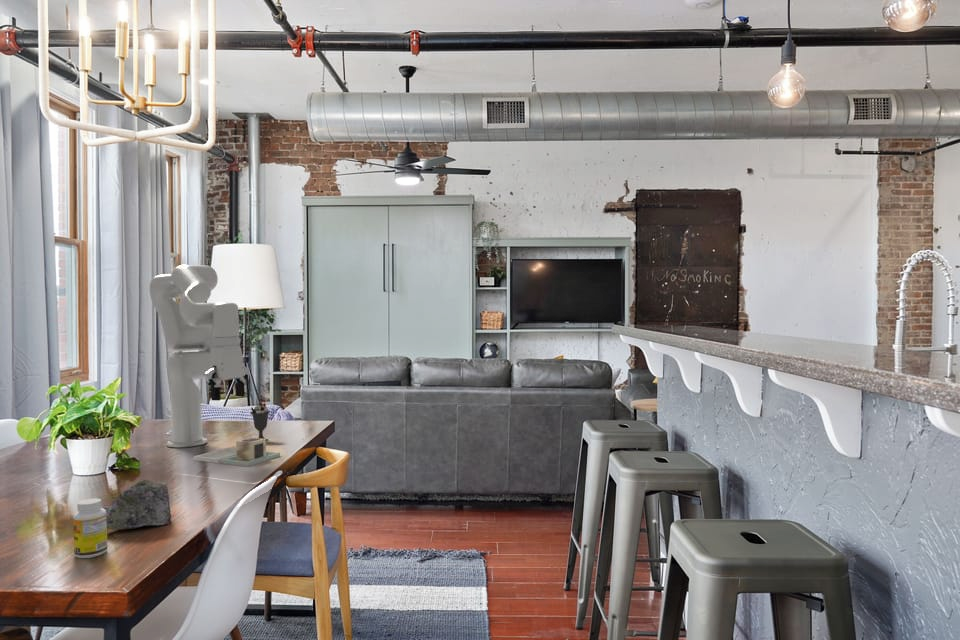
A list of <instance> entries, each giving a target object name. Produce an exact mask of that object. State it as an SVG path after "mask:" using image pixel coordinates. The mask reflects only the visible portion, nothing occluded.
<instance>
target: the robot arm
mask: <svg viewBox="0 0 960 640" xmlns="http://www.w3.org/2000/svg"><path fill="white" fill-rule="evenodd" d="M218 279H219V277H218V273H217V271H216V270H215V268H213V267H212V266H210V265H204V264H202V265H201V264H200V265H199V264H181V265H178V266H176V267H174V268H173V269H172V271H171V273H168V274H167V273H166V274H165V273H164V274H158V275H156V276H154V277H152V278H151V280H150V283H149V296H150V300H151V302H152V304H153V307H154V308H155V310H156V312H157V314H158V316H159V319H160V324H161V327H162V332H163V336H164V340H165V344H166V346H167V348H168V349H169V350H170V351H172V352H176V353H173V354H171V355H170V356H169V357H168V358H167V360H166V371H167V376H168V381H169V389H170V415H171V416H170V419H171V420H170V421H171V423H170V424H171V430H169V431H168V432H166V433H165V437H167V438H169V440H168V441H166V445H167V447H169V448H191V447H198V446H202V445H205V444H206V443H207V441H208V439H207V438H206V437H203V429H202V427H203V426H202V424H203V423H202V392H201V390H200V388H199V386H198V385H197V384H196V383H195V382H194V381H195V380H199V379H205V382H206V383H207V385H208V387H209V388H210V398H211V401H215V402H217V401H221V396H222V395H221V386H220V384H221V383H222V381H228V380H234V381H235V382H236V383H235V384H234V385H235V387H234V389H235V397H245V395H246V393H245V384H246V383H247V380H248V378H249V374H250V370H251V369H250V368H249V367H247V366H246V365H244V357H243V351H242V347H241V346H240V343H241V342H242V341H241V338H240V320H239V319H240V317H239V306H238V304H237V303H234V302H207V301H208V300H209V299H210V297H211V295H212V294H211V292H212V291H213V290H214V289H215V288H216V286H217V284H218ZM174 299H179V303H178V302H177V301H175V300H174ZM219 386H220V387H219Z"/></svg>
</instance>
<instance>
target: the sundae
mask: <svg viewBox="0 0 960 640" xmlns="http://www.w3.org/2000/svg"><path fill="white" fill-rule="evenodd" d="M265 399H267V397H263V399H262V401H259V402H258V403H257V404H256V405H255V406H254V408H253V407H252V406H251V408H250V409H251V410H250V415H252V419H253V426H254V428H255V429H256V430H257V432H258V437H257V438H261V439H266V442H268V441H269V439H268V438H265V437H264V434H263V433H264V430H266V428H267V426H268V419H269V414H270V413H271V411H270V410H269V408H268V407H267V404H266V402H265Z"/></svg>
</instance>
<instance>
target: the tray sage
mask: <svg viewBox="0 0 960 640" xmlns="http://www.w3.org/2000/svg"><path fill="white" fill-rule="evenodd" d="M279 457H281V452H278V451H277V452H276V451H267V450H266V456H264V457H261V458H258V459H254V460H251V461H248V462H245V461H237V455H236V456H233V457H229V458H226V459H222V460H221V461H222V462H221V464H223V465H231V466H240V467H241V466H242V467H250V466H252V465H257V464H260V463H262V462H266V461H269V460H273V459H276V458H279Z"/></svg>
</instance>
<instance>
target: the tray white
mask: <svg viewBox="0 0 960 640" xmlns="http://www.w3.org/2000/svg"><path fill="white" fill-rule="evenodd" d="M236 455H237V454H236V447H229V446H228V447H224V448H220V449H217V450H213V451H209V452H206V453H202V454H197V455H195V456H194V455H193V461H197V462H207V463H214V464H220V463H222V461H221V460H222V459H226V458H229V457H233V456H236Z"/></svg>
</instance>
